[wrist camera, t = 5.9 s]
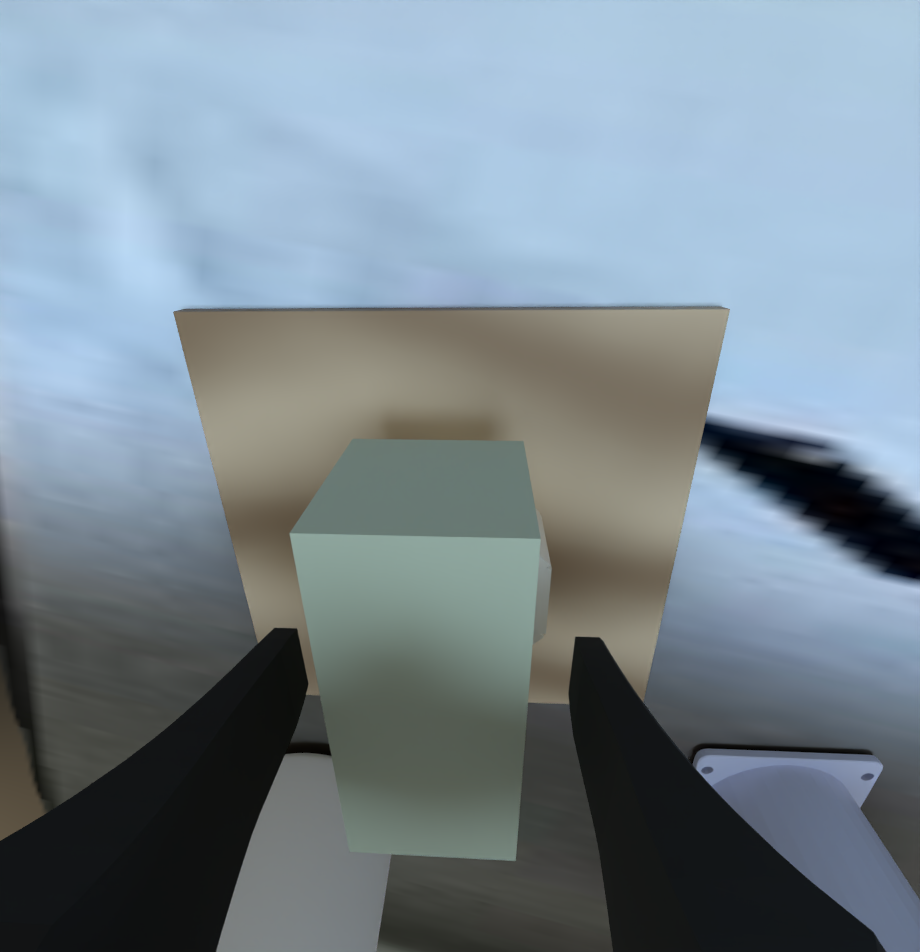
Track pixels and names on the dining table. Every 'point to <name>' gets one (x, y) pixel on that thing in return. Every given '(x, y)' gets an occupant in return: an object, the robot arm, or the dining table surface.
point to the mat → (470, 418)
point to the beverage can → (305, 872)
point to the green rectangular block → (424, 639)
